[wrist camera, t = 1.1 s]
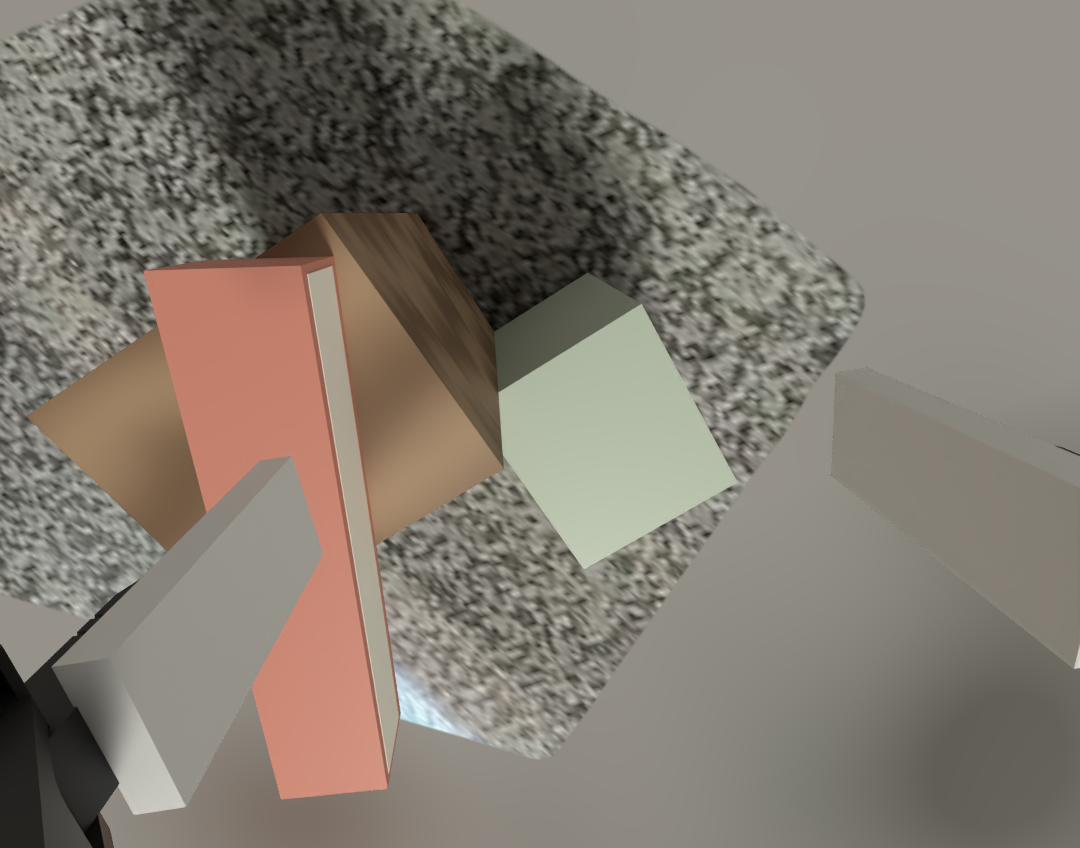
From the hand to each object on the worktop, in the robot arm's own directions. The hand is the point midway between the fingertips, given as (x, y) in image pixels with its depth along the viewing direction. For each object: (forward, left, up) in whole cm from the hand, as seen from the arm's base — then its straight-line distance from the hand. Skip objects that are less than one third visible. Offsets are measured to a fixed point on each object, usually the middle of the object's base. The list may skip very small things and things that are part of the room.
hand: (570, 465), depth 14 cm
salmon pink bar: (+1, -12, -10) cm, 15 cm away
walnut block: (-3, -11, -40) cm, 41 cm away
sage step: (+10, 0, -40) cm, 41 cm away
